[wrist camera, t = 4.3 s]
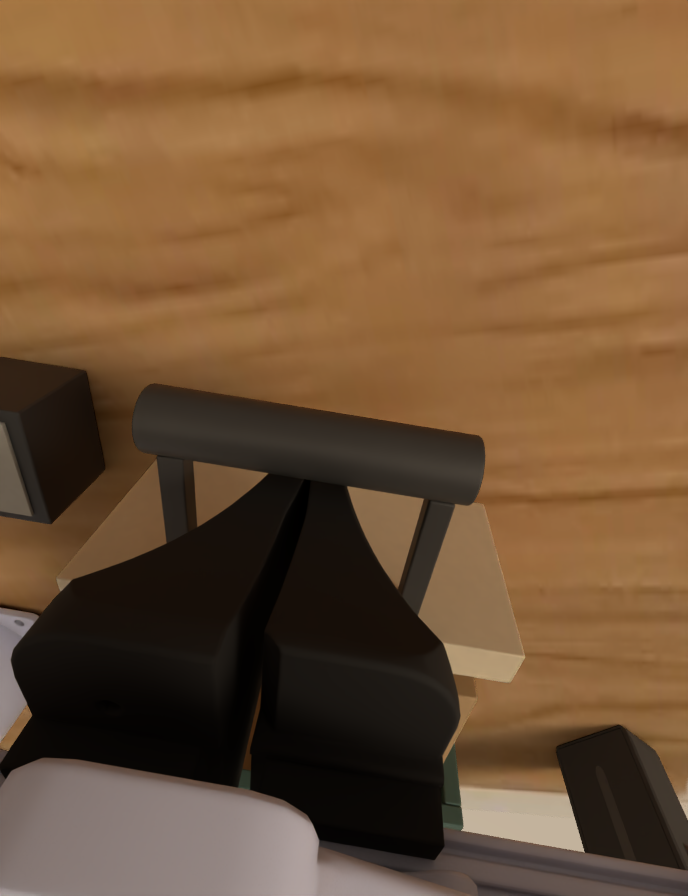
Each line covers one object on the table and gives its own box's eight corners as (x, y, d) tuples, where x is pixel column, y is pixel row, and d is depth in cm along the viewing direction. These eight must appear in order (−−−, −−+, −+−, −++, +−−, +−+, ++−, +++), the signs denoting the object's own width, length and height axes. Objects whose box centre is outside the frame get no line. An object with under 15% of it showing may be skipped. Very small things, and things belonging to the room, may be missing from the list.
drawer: (146, 304, 13) (-9, 384, 8) (536, 366, 13) (626, 487, 8) (185, 660, 23) (125, 797, 18) (409, 698, 23) (413, 848, 18)
